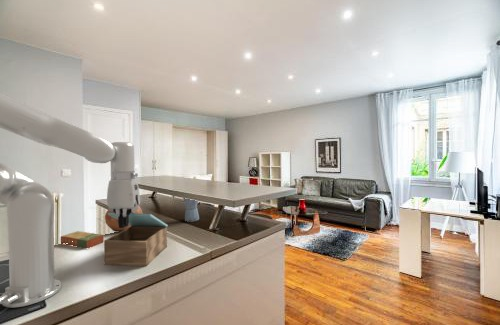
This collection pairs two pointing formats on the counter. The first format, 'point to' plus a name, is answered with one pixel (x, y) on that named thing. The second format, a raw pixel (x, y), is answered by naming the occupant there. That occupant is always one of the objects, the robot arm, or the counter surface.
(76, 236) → the carton
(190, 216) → the moka pot
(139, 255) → the walnut box
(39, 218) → the robot arm
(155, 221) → the lid
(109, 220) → the jug
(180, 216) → the counter surface
